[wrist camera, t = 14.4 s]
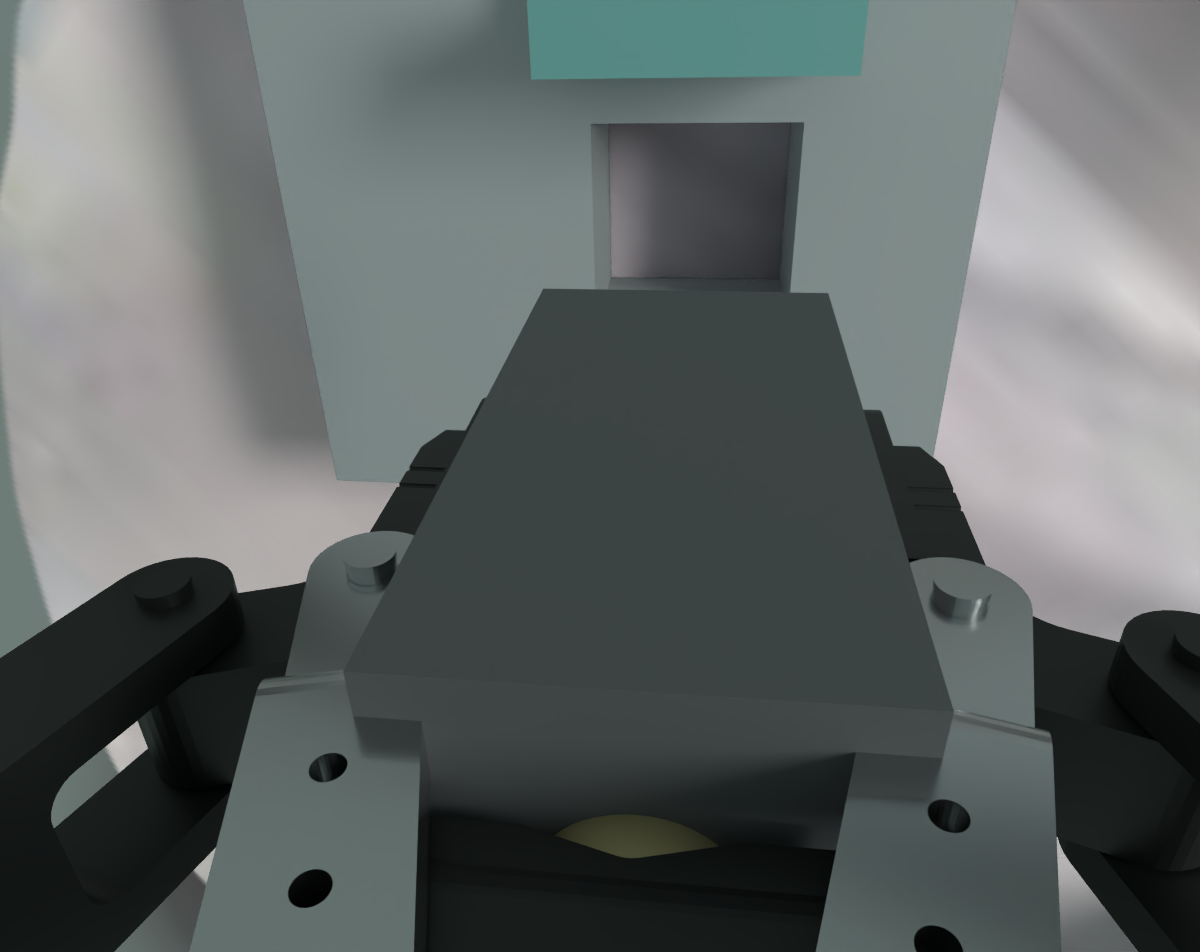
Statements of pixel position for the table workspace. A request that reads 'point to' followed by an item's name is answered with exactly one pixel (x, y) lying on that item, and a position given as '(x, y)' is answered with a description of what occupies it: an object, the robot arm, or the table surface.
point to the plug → (660, 584)
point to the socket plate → (598, 197)
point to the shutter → (695, 38)
